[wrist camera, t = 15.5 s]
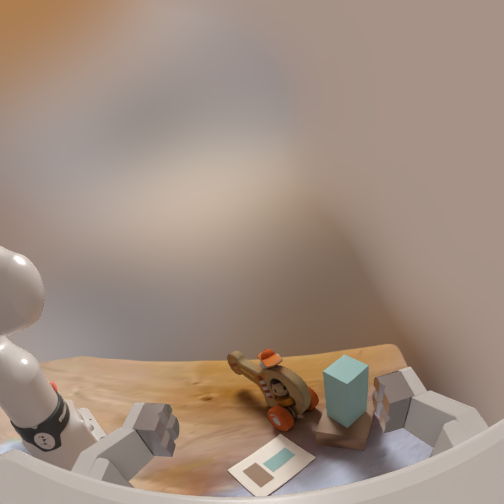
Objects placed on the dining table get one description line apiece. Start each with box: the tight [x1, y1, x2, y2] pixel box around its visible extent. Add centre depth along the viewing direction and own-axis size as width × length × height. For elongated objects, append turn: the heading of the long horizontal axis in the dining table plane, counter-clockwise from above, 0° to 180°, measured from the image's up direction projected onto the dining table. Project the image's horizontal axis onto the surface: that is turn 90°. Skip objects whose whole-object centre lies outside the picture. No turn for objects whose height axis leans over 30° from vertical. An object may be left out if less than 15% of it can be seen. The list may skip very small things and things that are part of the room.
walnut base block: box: [315, 400, 375, 450], centre depth 38 cm, size 8×8×4 cm
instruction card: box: [228, 434, 316, 497], centre depth 34 cm, size 8×11×1 cm
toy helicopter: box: [227, 349, 319, 431], centre depth 48 cm, size 8×21×14 cm, turn 40°
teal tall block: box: [323, 355, 369, 428], centre depth 37 cm, size 4×4×10 cm
